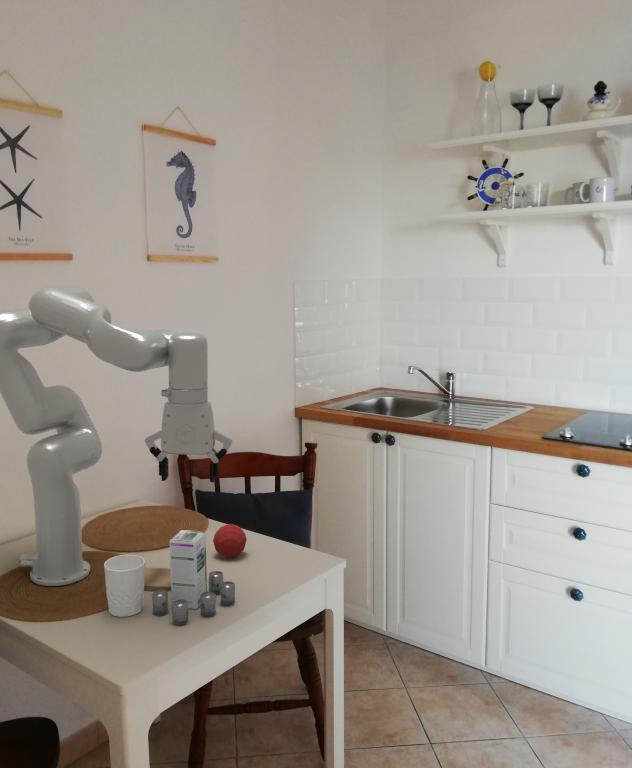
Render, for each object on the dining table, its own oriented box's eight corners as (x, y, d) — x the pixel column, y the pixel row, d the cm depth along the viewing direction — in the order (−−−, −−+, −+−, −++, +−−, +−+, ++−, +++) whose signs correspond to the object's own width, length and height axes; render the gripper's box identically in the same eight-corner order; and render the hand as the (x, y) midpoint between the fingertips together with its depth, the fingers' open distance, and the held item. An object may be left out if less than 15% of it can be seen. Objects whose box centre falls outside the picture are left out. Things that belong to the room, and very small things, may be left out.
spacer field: (146, 625, 137) (145, 605, 136) (169, 580, 156) (169, 563, 155) (227, 627, 137) (227, 608, 136) (240, 582, 156) (240, 565, 155)
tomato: (232, 528, 164) (232, 511, 171) (206, 547, 165) (206, 529, 172) (253, 550, 167) (252, 533, 174) (227, 569, 168) (227, 550, 175)
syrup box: (197, 609, 143) (197, 541, 141) (170, 606, 144) (169, 539, 142) (207, 597, 149) (207, 531, 146) (180, 594, 150) (180, 528, 147)
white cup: (124, 622, 138) (123, 574, 136) (97, 611, 142) (95, 564, 140) (154, 606, 144) (153, 560, 143) (126, 596, 148) (125, 551, 147)
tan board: (121, 589, 151) (120, 585, 151) (132, 571, 160) (132, 567, 160) (172, 591, 151) (172, 586, 151) (181, 572, 160) (181, 568, 160)
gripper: (139, 398, 136) (141, 484, 139) (229, 400, 136) (229, 486, 139) (149, 391, 143) (150, 473, 146) (234, 393, 143) (234, 475, 146)
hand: (188, 479), depth 142 cm, fingers open, 9 cm apart
